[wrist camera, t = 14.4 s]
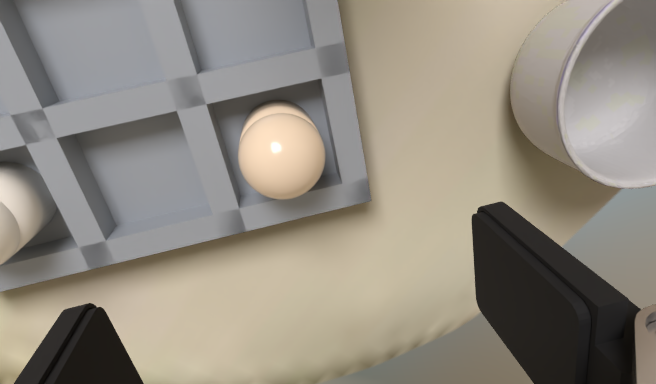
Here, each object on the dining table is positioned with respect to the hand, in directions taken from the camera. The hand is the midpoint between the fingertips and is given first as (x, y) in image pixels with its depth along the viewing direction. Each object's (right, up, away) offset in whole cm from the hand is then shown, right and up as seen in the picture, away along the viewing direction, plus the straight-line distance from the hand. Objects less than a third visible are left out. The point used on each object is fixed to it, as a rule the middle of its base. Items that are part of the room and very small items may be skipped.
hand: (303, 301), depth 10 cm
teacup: (+18, +12, +18) cm, 28 cm away
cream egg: (-18, +2, +14) cm, 23 cm away
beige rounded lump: (-2, +6, +15) cm, 17 cm away
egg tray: (-11, +8, +14) cm, 20 cm away
